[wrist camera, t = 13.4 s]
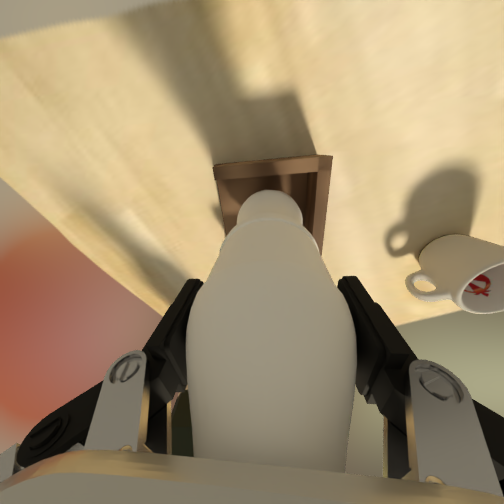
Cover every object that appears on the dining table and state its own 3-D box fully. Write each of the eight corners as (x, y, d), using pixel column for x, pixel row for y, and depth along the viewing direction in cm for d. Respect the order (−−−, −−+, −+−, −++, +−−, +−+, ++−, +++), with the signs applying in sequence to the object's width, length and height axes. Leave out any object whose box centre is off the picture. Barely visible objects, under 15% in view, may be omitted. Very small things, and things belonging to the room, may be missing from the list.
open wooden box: (317, 154, 21) (332, 155, 16) (310, 246, 27) (319, 269, 22) (216, 164, 23) (200, 168, 18) (230, 250, 29) (222, 271, 24)
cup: (396, 288, 30) (434, 330, 23) (382, 252, 27) (422, 288, 20) (476, 260, 26) (551, 299, 19) (471, 215, 23) (556, 243, 16)
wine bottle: (248, 335, 39) (206, 708, 13) (221, 348, 42) (144, 670, 16) (221, 313, 36) (99, 730, 10) (194, 328, 39) (48, 679, 13)
